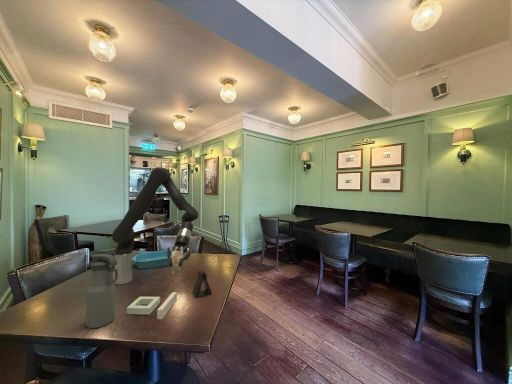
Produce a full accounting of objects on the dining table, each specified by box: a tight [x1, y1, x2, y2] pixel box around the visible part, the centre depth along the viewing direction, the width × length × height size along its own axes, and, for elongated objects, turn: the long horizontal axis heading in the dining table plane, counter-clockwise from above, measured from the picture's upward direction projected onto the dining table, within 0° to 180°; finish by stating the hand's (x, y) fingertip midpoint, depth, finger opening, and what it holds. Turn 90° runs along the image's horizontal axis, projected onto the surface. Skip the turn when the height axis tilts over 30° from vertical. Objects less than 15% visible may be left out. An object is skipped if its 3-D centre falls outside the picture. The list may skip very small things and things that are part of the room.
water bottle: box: [85, 253, 118, 329], centre depth 89 cm, size 10×10×28 cm
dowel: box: [171, 251, 182, 277], centre depth 114 cm, size 4×4×12 cm
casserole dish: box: [132, 250, 173, 270], centre depth 161 cm, size 37×22×7 cm, turn 118°
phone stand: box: [192, 269, 213, 299], centre depth 113 cm, size 9×6×12 cm, turn 121°
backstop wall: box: [156, 291, 178, 320], centre depth 98 cm, size 2×16×4 cm, turn 179°
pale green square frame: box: [126, 296, 161, 316], centre depth 99 cm, size 10×10×3 cm
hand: (174, 265), depth 112 cm, fingers closed on dowel, 4 cm apart
